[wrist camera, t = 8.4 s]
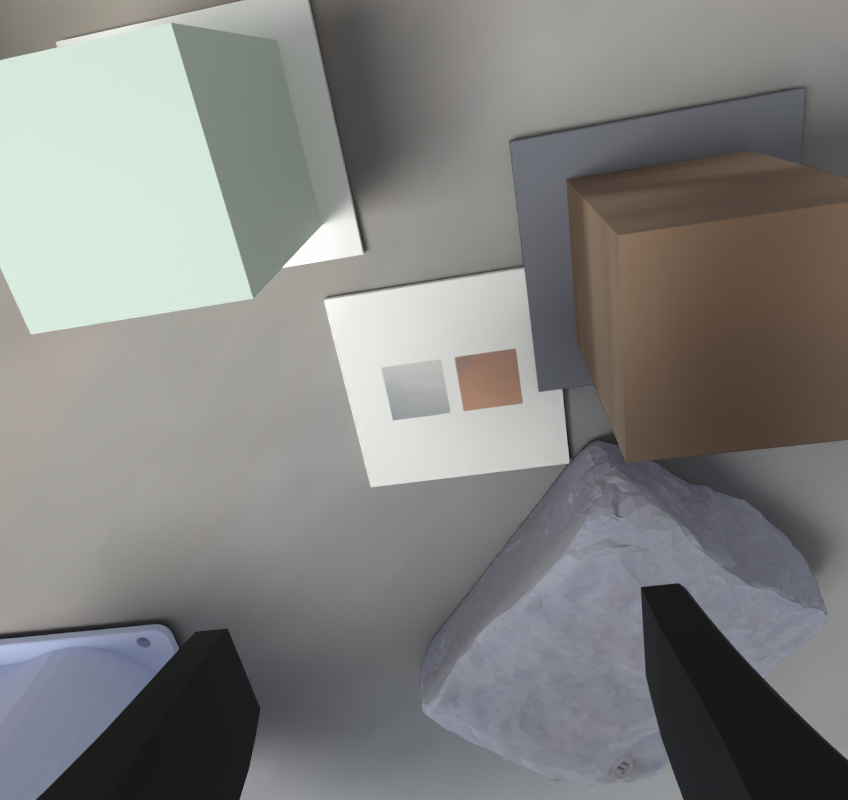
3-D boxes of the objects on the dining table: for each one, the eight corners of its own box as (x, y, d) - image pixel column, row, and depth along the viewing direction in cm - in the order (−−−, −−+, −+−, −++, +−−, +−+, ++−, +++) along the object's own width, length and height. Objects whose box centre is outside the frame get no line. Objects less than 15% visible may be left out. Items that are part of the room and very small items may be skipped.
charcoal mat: (537, 386, 20) (538, 392, 20) (509, 140, 17) (510, 142, 17) (782, 353, 19) (788, 358, 19) (797, 88, 16) (805, 88, 16)
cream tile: (371, 483, 22) (370, 487, 22) (325, 298, 19) (323, 300, 19) (568, 460, 21) (569, 463, 21) (548, 262, 18) (549, 264, 18)
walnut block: (577, 342, 19) (626, 463, 13) (566, 179, 17) (618, 235, 11) (742, 321, 18) (870, 437, 13) (750, 150, 17) (905, 193, 11)
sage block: (166, 252, 19) (30, 334, 13) (105, 76, 17) (-86, 79, 11) (321, 225, 18) (253, 298, 12) (277, 40, 16) (170, 22, 10)
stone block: (798, 504, 24) (574, 409, 20) (892, 615, 20) (632, 519, 16) (601, 693, 29) (396, 643, 26) (643, 811, 25) (407, 770, 22)
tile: (149, 288, 19) (146, 290, 19) (59, 41, 17) (55, 41, 17) (364, 252, 19) (363, 254, 18) (306, -13, 16) (304, -14, 16)
